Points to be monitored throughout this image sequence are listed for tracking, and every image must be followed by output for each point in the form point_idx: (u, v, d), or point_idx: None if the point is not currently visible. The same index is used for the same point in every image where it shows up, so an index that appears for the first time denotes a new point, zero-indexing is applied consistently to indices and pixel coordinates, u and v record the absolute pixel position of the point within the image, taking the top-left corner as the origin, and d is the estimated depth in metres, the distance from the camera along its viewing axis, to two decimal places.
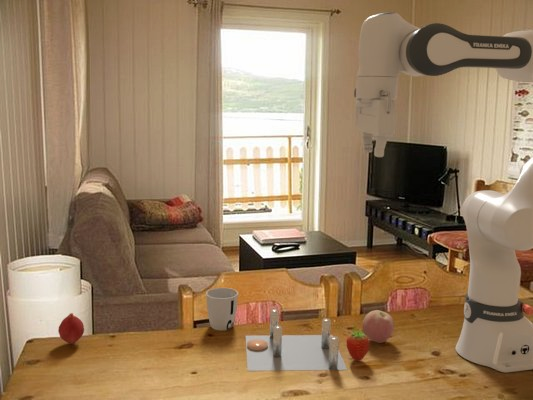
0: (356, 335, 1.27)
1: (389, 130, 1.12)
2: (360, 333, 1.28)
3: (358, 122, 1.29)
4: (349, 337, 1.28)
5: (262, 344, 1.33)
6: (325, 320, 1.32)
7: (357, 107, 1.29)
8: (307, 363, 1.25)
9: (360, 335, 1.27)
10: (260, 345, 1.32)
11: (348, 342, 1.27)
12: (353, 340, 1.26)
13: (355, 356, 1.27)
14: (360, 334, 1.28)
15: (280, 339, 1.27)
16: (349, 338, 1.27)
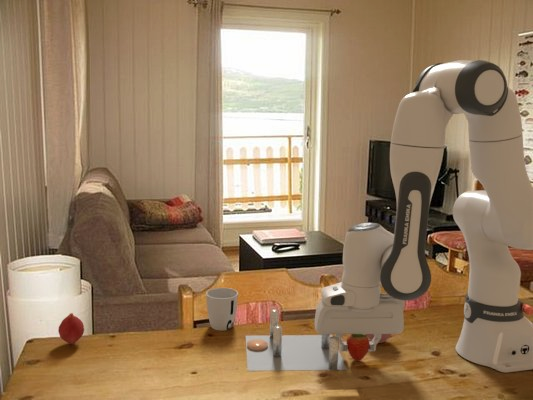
0: (356, 335, 1.27)
1: None
2: None
3: (327, 326, 1.25)
4: (349, 337, 1.28)
5: (262, 344, 1.33)
6: None
7: (326, 313, 1.24)
8: (307, 363, 1.25)
9: (360, 335, 1.27)
10: (260, 345, 1.32)
11: (348, 342, 1.27)
12: (353, 340, 1.26)
13: (355, 356, 1.27)
14: (360, 334, 1.28)
15: (280, 339, 1.27)
16: (349, 338, 1.27)
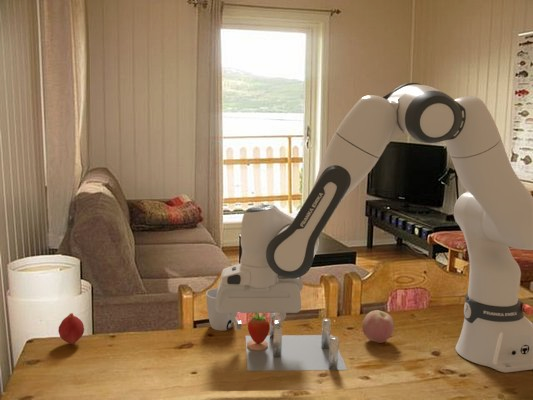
0: (256, 318, 1.31)
1: None
2: (261, 316, 1.32)
3: (225, 305, 1.29)
4: (250, 320, 1.32)
5: (262, 344, 1.33)
6: (325, 320, 1.32)
7: (224, 292, 1.28)
8: (307, 363, 1.25)
9: (260, 318, 1.31)
10: (260, 345, 1.32)
11: (249, 325, 1.31)
12: (253, 323, 1.30)
13: (254, 339, 1.31)
14: (261, 317, 1.32)
15: (280, 339, 1.27)
16: (250, 321, 1.31)
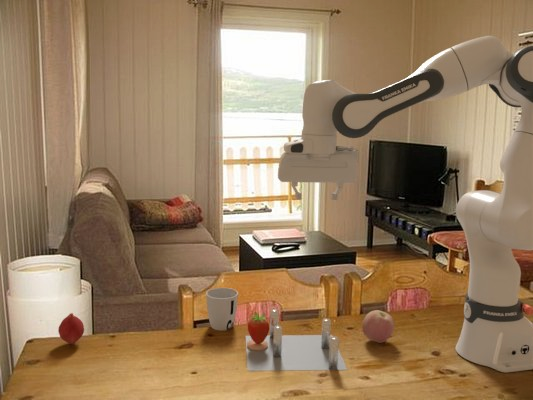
0: (256, 318, 1.31)
1: None
2: (261, 317, 1.32)
3: (288, 174, 1.39)
4: (250, 320, 1.32)
5: (262, 344, 1.33)
6: (325, 320, 1.32)
7: (287, 161, 1.38)
8: (307, 363, 1.25)
9: (260, 318, 1.31)
10: (260, 345, 1.32)
11: (248, 325, 1.31)
12: (252, 323, 1.30)
13: (254, 339, 1.31)
14: (260, 318, 1.32)
15: (280, 339, 1.27)
16: (250, 322, 1.31)
